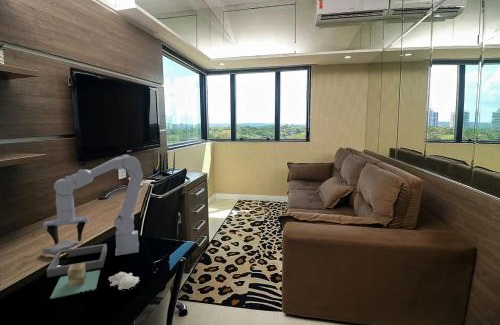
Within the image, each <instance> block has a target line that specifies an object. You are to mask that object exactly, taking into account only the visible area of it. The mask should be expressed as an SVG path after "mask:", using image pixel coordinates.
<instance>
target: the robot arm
mask: <svg viewBox="0 0 500 325" xmlns="http://www.w3.org/2000/svg"><path fill="white" fill-rule="evenodd" d="M111 170H124V171H126V173H127V174H128V176H129V177H130V178H129V181H128V183H127V184H128V185H127V188H126V192H125V195H124V200H123V203H122V205H121V210H120V211H119V212H118V215H117V217H116V218H115V220H114V221H113V226H114V227H115V228H116V231H115V246H116V248H115V252H114V253H115V254H114V256H121V255H129V254H134V253H139V247H140V241H139V230H135V224H134V221H135V215H134V213H135V207H136V204H137V200H138V198H139V192H140V189H141V186H142V182H143V178H144V172H143V169H142V167H141V162H140V161H139V160H138V159H137V157H135V156H131V155H129V154H122V155H120V156H116V157H114V158H112V159H110V160H108V161H106V162H103V163H102V164H100V165H98V166H95V167H94V168H92V169H86V168H84V169H81V168H80V169H79V170H77V172H75V173H73V174H70V175H66V176H65V177H64V178H60V179H58V180H56V181H55V182H54V184H53V185H54V186H53V189H54V190H55V206H56V215H57V219H53V220H47V221H44V222H43V223H42V224H43V229H46V232H47V233H48V234H49V235H50V236H51V238H52V239H53V242H54V245H56V244H58V243H60V241H59V240H60V239H59V234H58V229H59V228H58V227H59V226H60V227H61V226H66V225H74V224H75V225H76V224H77V225H76V230H77V242H81V241H82V236H83V235H82V234H83V232H84V228H85V226H86V224H88V223H89V216H81V217H80V216H79V217H78V216H76V211H75V200H74V194H73V193H74V191H75V190H77V189H80V188H81V187H84V186H85V185H88V184H90V183H92V182H93V181H94V178H95V177H98V176H100V175H103V174H105V173H106V172H109V171H111Z"/></svg>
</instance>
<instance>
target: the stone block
mask: <svg viewBox="0 0 500 325" xmlns="http://www.w3.org/2000/svg"><path fill="white" fill-rule="evenodd" d="M78 244H80V241H76V240H74V239H73V240H72V239H67V240H63V241H59V242H58V244H56V245H55V244H54V245H52V246H48V247H46V248H43V249H42V252H41V253H43V254H51V255H56V254H57V252H58V251H61V250H67V249H69V248H71V247H74V246H76V245H78ZM43 254H42V255H43Z"/></svg>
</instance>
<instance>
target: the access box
mask: <svg viewBox="0 0 500 325" xmlns="http://www.w3.org/2000/svg"><path fill="white" fill-rule="evenodd" d="M107 251H108V245H107V243H103V244H102V243H101V244H97V245H89V246H83V247H79V248H74V249H67V250H61V251H58V252H57V254H56V255H55V257H54V258H52V260H51V262H50V263H49V265H48V267H47V268H46V278H51V277H56V276H57V277H59V276H62V275H63V276H65V275H68V272H67V271H68V269H69V267H70V265H73V264H74V263H71V264H67V265H65V264H64V265H59V264H60V262H59V257H60V255H61V254H64V253H68V256H67V257H66V258H71V257H77V256H84V255H89V254H98V253H101V254H100V256H99V259H97V260H91V261H84V262H82V263H85V270H86V271H92V270H96V269H97V270H98V269H102V268H104V266H105V260H106V256H107V253H108V252H107ZM79 263H80V262H78V263H76V264H79ZM58 265H59V266H58ZM56 266H57V267H56Z"/></svg>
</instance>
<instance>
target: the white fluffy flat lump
mask: <svg viewBox="0 0 500 325" xmlns="http://www.w3.org/2000/svg"><path fill="white" fill-rule="evenodd" d="M139 279H140V277H139V276H133V273H132V272H129V273H127V272H124V271H119V272H118V273H115V274H114V275H112V276H109V277H108V279H107V280H109V281H110V282H109V281H108V282H109V283H110V284H109V286H110V287H111V286H114V287H116V286H115V285H117V286H118V287H117V290H118V289H119V290H122V289H128V290H130V289H129V288H131V287H134V286H135V285H136V284H137V283H138V282H140V280H139ZM111 282H112V283H111ZM138 284H139V283H138ZM135 287H136V286H135ZM135 287H134V288H135ZM131 289H132V288H131ZM119 290H118V291H119ZM122 291H123V290H122Z"/></svg>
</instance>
